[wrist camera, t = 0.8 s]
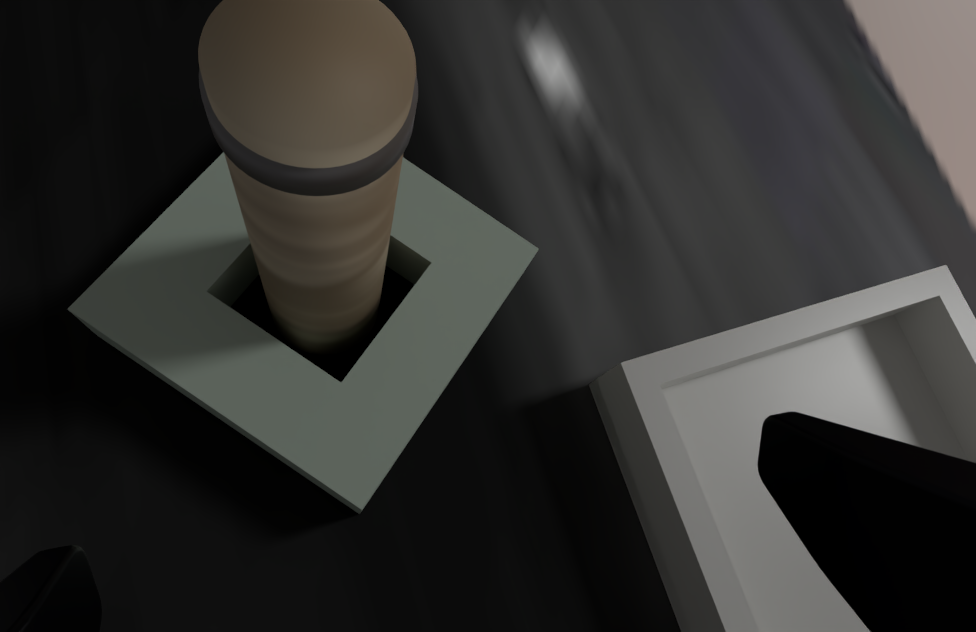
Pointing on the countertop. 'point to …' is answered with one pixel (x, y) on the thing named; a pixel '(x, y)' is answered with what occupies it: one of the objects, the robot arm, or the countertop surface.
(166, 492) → the countertop surface
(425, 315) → the collar
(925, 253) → the countertop surface
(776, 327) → the tray
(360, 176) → the pin
